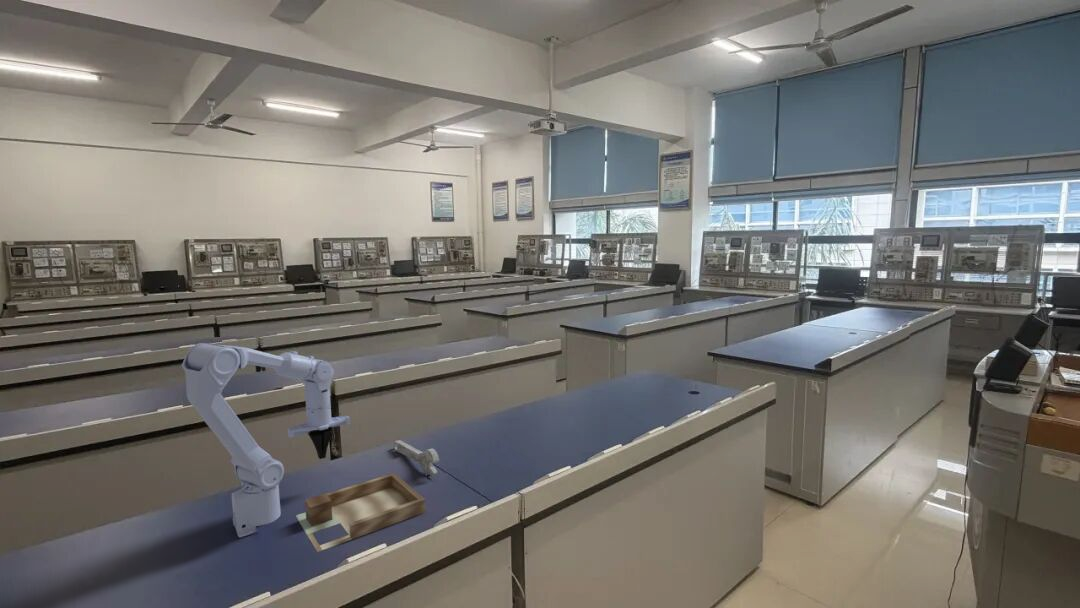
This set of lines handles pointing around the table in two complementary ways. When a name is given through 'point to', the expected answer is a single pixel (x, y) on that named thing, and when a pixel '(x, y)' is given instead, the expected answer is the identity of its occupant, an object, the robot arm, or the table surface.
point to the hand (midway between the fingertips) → (321, 457)
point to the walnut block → (318, 509)
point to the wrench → (419, 456)
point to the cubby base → (367, 508)
